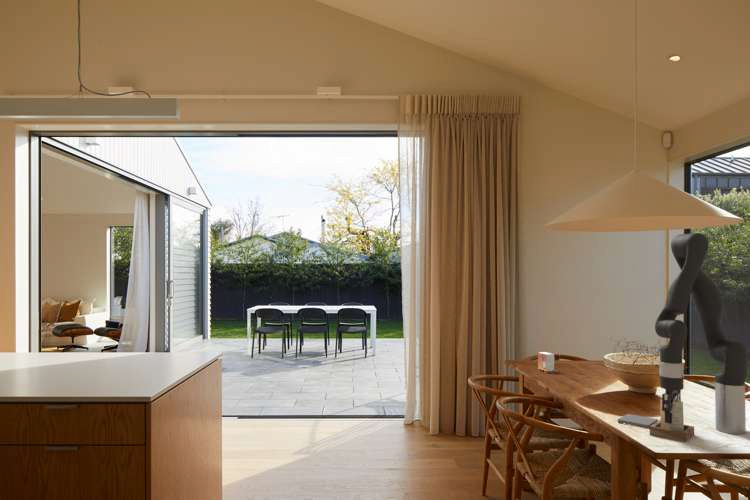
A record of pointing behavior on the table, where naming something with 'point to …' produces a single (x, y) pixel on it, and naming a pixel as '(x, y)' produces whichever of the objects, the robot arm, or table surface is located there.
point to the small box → (545, 361)
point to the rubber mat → (637, 420)
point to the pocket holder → (672, 432)
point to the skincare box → (673, 417)
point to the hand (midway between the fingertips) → (671, 420)
